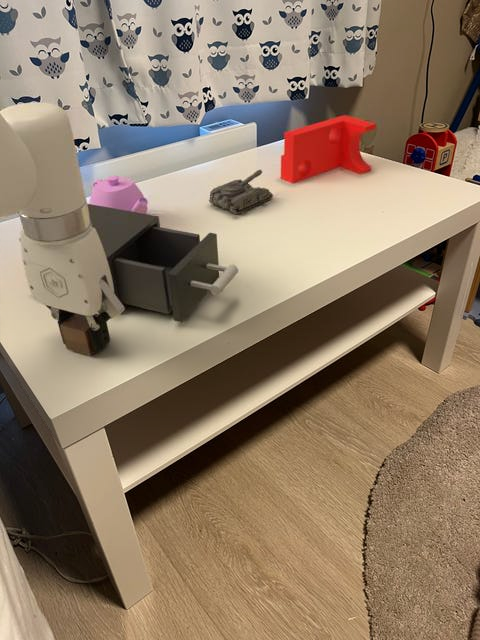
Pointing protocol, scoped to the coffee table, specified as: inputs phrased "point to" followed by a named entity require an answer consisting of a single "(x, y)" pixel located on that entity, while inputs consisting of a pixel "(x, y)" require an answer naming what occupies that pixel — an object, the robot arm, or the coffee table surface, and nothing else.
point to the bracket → (324, 148)
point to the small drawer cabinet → (118, 231)
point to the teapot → (118, 195)
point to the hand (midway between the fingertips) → (87, 341)
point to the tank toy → (239, 195)
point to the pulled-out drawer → (170, 271)
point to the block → (77, 334)
